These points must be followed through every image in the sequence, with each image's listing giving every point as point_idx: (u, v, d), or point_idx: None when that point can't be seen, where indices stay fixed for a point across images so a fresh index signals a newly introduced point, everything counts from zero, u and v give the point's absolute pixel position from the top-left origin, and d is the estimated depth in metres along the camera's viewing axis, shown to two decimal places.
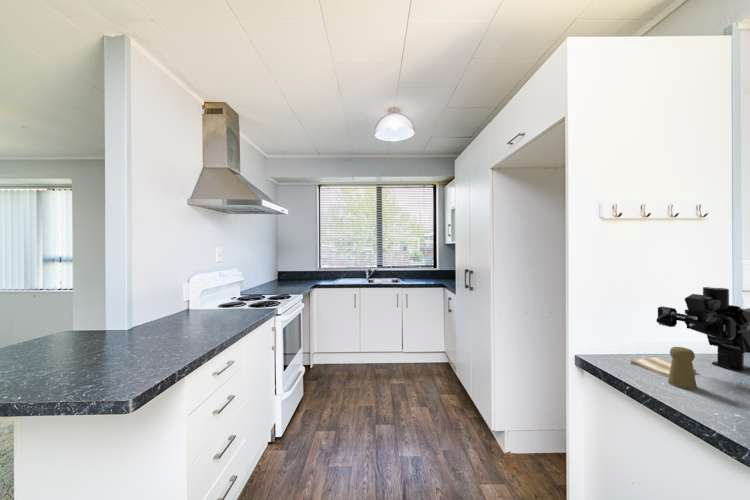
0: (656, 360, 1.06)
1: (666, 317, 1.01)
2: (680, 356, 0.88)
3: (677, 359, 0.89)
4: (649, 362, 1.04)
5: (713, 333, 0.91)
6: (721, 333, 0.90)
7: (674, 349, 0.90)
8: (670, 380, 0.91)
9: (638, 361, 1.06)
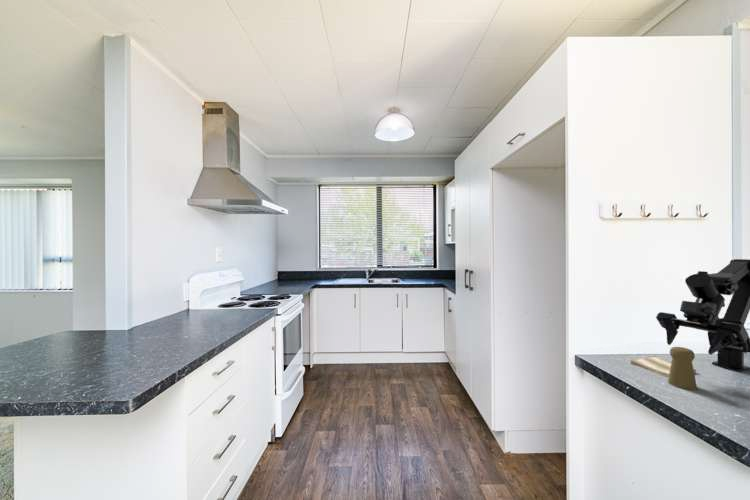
0: (656, 360, 1.06)
1: (672, 331, 0.97)
2: (680, 356, 0.88)
3: (677, 359, 0.89)
4: (649, 362, 1.04)
5: (727, 343, 0.87)
6: (735, 341, 0.86)
7: (674, 349, 0.90)
8: (670, 380, 0.91)
9: (638, 361, 1.06)
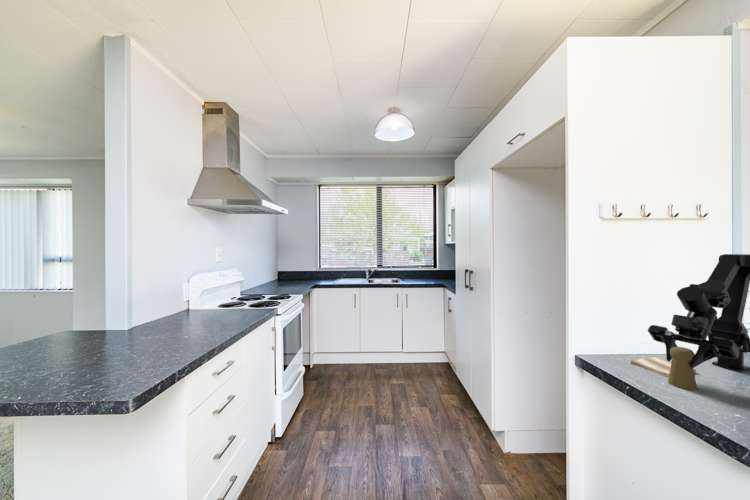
0: (656, 360, 1.06)
1: None
2: (680, 356, 0.88)
3: (677, 359, 0.89)
4: (649, 362, 1.04)
5: (709, 356, 0.87)
6: (717, 355, 0.86)
7: (674, 349, 0.90)
8: (670, 380, 0.91)
9: (638, 361, 1.06)
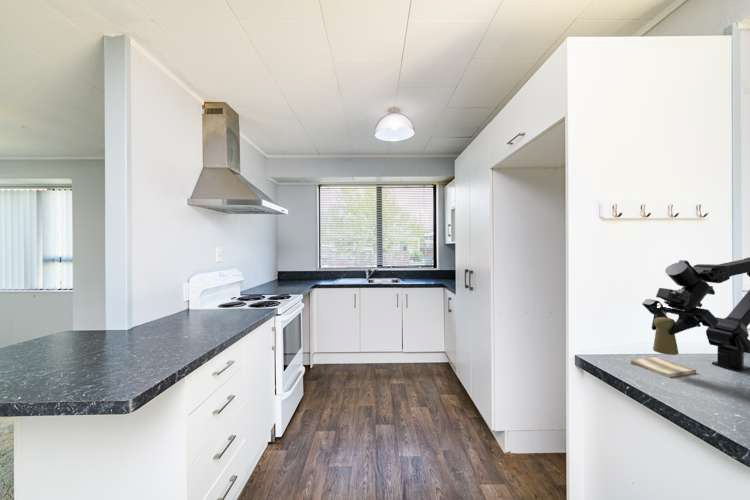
0: (656, 360, 1.06)
1: None
2: (660, 324, 0.98)
3: (658, 328, 0.99)
4: (649, 362, 1.04)
5: (690, 325, 0.95)
6: (697, 324, 0.94)
7: (656, 318, 1.00)
8: (653, 346, 1.01)
9: (638, 361, 1.06)
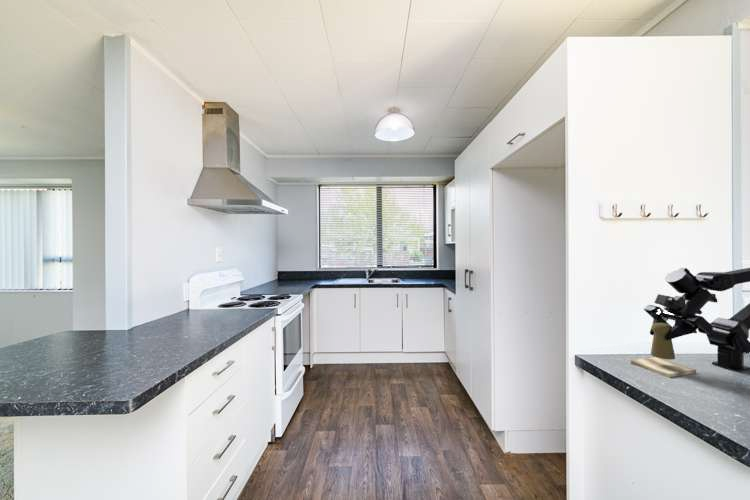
0: (656, 360, 1.06)
1: None
2: (656, 329, 1.01)
3: (655, 333, 1.02)
4: (649, 362, 1.04)
5: (687, 331, 0.97)
6: (692, 330, 0.96)
7: (654, 324, 1.03)
8: (651, 351, 1.04)
9: (638, 361, 1.06)
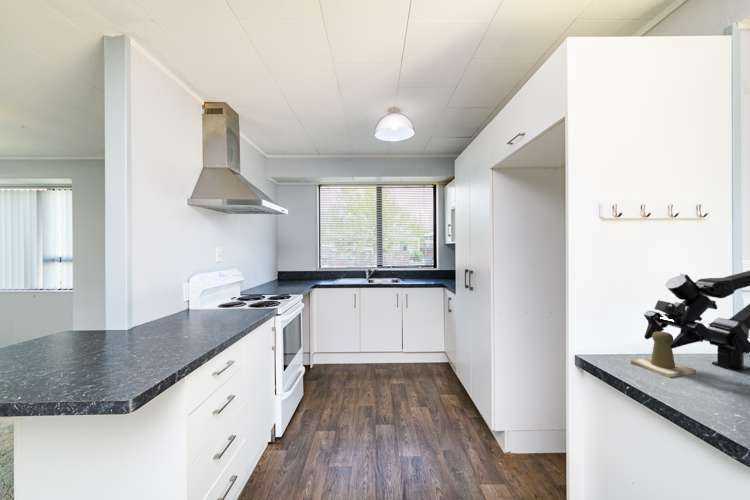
0: None
1: (652, 328, 1.07)
2: (656, 338, 1.01)
3: (656, 341, 1.02)
4: (649, 362, 1.04)
5: (692, 340, 0.96)
6: (699, 339, 0.94)
7: (654, 332, 1.03)
8: (651, 359, 1.04)
9: (638, 361, 1.06)
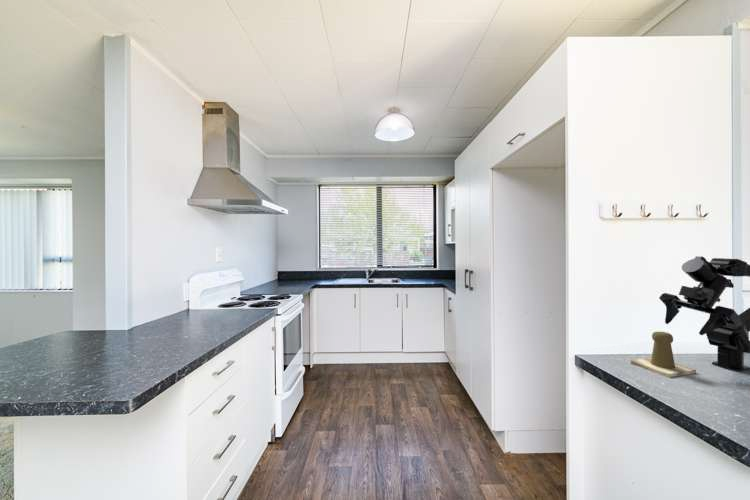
0: None
1: (671, 311, 1.05)
2: (656, 338, 1.01)
3: (655, 341, 1.02)
4: (649, 362, 1.04)
5: (720, 325, 0.95)
6: (727, 324, 0.93)
7: (654, 332, 1.03)
8: (651, 359, 1.04)
9: (638, 361, 1.06)
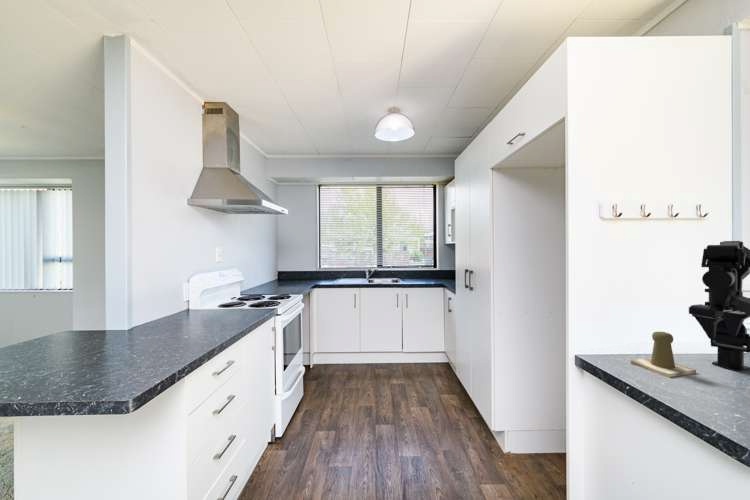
0: None
1: None
2: (656, 338, 1.01)
3: (655, 341, 1.02)
4: (649, 362, 1.04)
5: None
6: None
7: (654, 332, 1.03)
8: (651, 360, 1.04)
9: (638, 361, 1.06)
